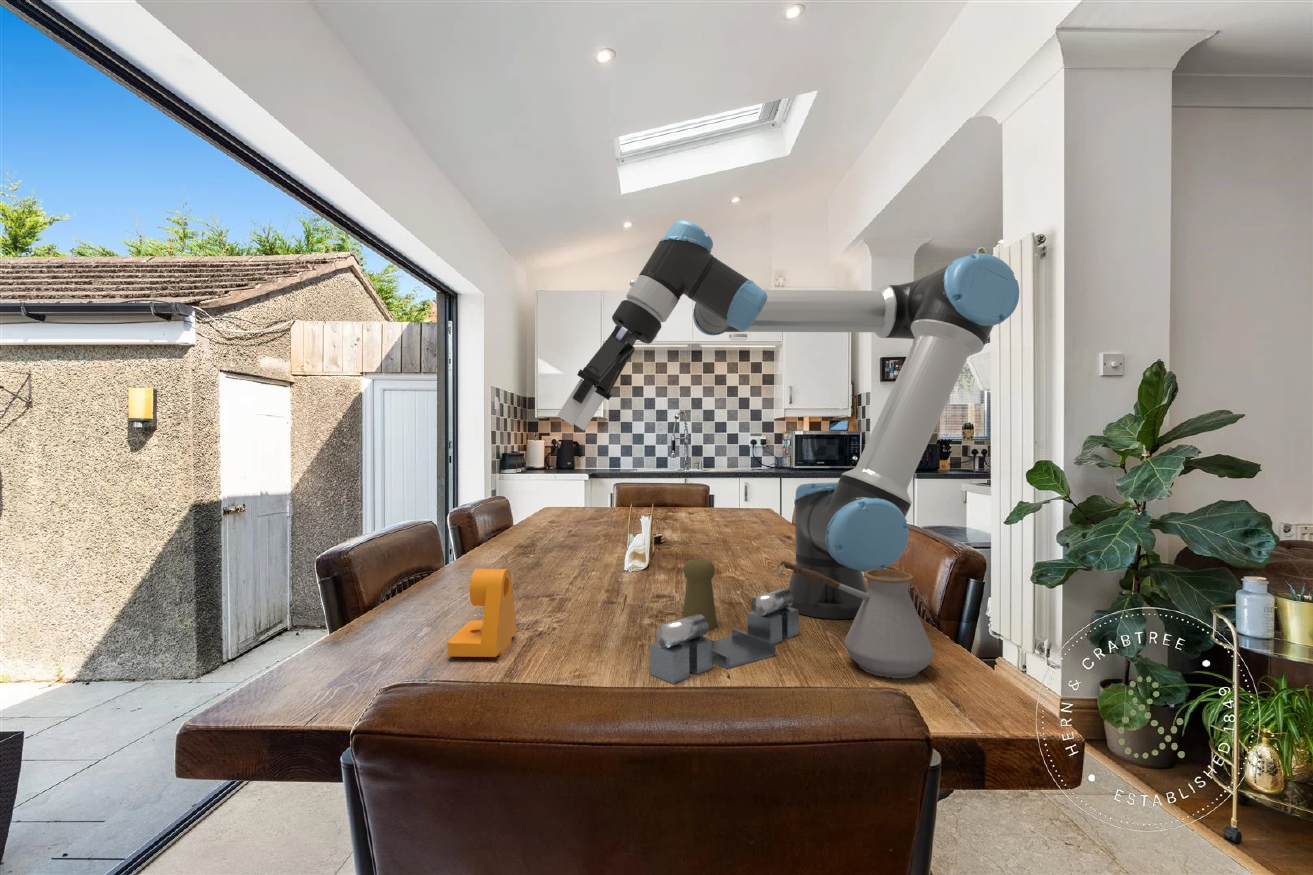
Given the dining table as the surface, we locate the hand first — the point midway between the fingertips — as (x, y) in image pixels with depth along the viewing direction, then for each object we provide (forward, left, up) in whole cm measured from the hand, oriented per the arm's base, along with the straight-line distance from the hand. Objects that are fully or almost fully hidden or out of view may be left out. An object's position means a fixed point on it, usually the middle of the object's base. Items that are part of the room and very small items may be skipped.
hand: (571, 423), depth 96 cm
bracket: (+13, -3, -34) cm, 37 cm away
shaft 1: (-7, +21, -34) cm, 40 cm away
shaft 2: (-27, +17, -34) cm, 46 cm away
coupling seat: (-17, +19, -34) cm, 42 cm away
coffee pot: (-27, +33, -34) cm, 54 cm away
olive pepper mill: (-21, +6, -34) cm, 40 cm away
